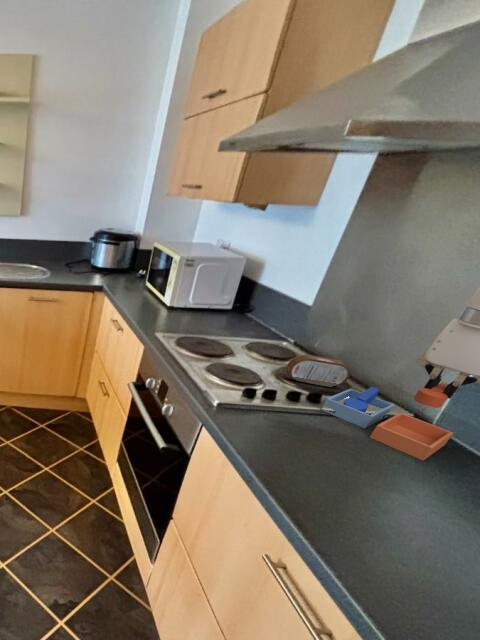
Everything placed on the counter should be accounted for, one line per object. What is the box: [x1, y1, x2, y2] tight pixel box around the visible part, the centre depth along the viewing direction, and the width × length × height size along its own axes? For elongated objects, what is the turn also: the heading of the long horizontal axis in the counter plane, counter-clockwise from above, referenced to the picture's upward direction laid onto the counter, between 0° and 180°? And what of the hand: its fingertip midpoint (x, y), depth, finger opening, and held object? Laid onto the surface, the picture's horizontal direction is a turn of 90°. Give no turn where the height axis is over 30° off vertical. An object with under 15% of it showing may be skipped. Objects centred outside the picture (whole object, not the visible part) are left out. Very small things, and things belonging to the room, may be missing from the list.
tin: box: [285, 354, 351, 386], centre depth 122 cm, size 15×3×8 cm, turn 71°
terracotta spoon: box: [412, 381, 449, 409], centre depth 93 cm, size 5×11×3 cm, turn 120°
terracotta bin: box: [369, 412, 454, 461], centre depth 97 cm, size 10×14×4 cm
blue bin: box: [320, 388, 396, 429], centre depth 108 cm, size 10×14×4 cm
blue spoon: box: [343, 385, 380, 413], centre depth 108 cm, size 5×11×3 cm, turn 120°
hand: (434, 396), depth 94 cm, fingers closed on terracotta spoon
